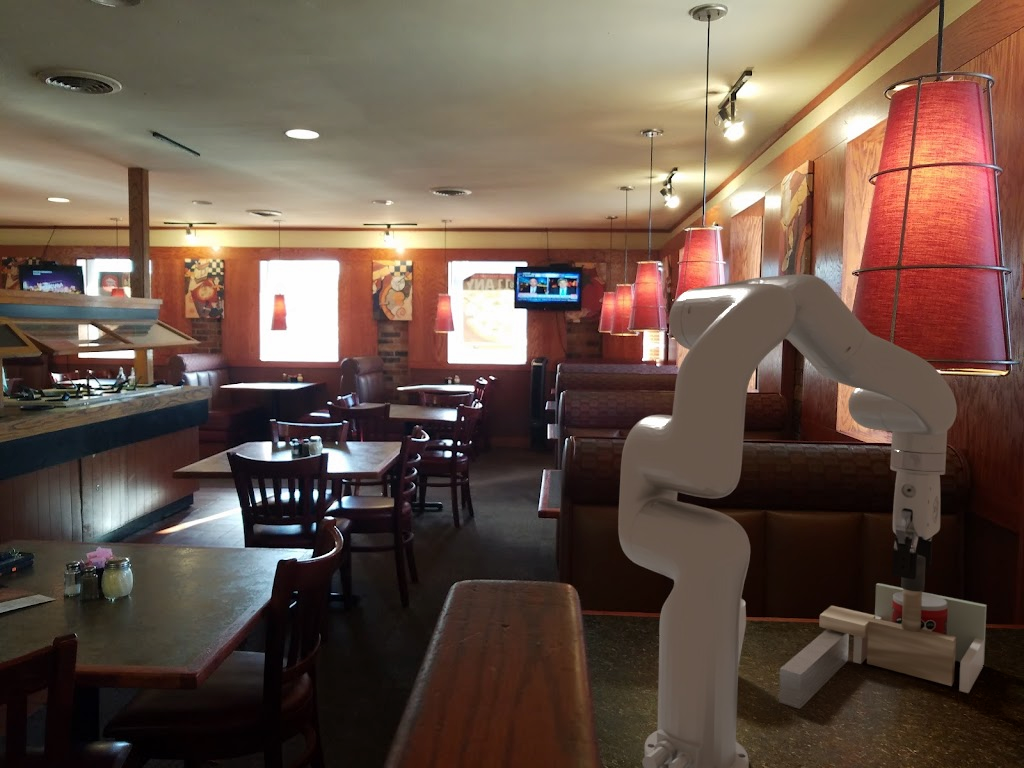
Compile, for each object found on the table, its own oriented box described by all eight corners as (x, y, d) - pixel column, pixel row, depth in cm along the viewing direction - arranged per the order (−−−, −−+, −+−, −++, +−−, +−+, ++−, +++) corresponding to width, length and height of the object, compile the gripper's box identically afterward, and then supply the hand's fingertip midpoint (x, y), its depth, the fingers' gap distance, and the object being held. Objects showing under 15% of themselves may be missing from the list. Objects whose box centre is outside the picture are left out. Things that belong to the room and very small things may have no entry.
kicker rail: (799, 708, 106) (800, 674, 106) (778, 702, 108) (780, 668, 108) (847, 660, 123) (849, 630, 123) (829, 655, 125) (830, 626, 125)
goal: (968, 693, 112) (971, 627, 111) (853, 661, 122) (855, 602, 122) (983, 665, 122) (986, 604, 121) (875, 638, 132) (877, 583, 132)
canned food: (879, 659, 123) (882, 594, 123) (913, 652, 127) (915, 588, 126) (921, 678, 116) (924, 609, 116) (956, 670, 120) (959, 602, 119)
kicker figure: (948, 690, 111) (953, 568, 110) (818, 655, 124) (822, 545, 123) (956, 677, 116) (961, 560, 115) (830, 644, 128) (833, 538, 127)
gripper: (932, 470, 107) (926, 588, 108) (956, 459, 120) (950, 564, 121) (876, 464, 112) (870, 577, 113) (905, 454, 125) (900, 555, 126)
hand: (912, 570), depth 117 cm, fingers open, 9 cm apart
